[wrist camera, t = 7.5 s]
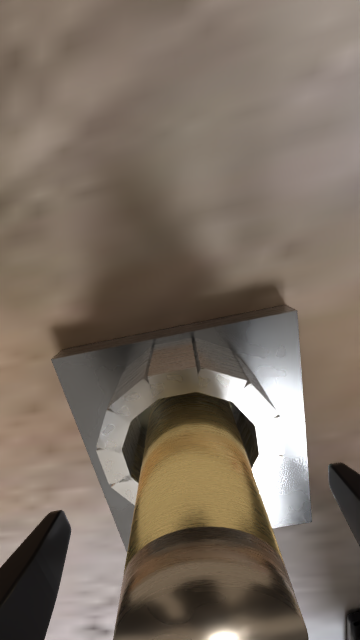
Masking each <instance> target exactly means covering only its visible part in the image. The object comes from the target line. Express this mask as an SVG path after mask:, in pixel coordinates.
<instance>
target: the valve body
mask: <svg viewBox="0 0 360 640" xmlns="http://www.w3.org/2000/svg"><path fill="white" fill-rule="evenodd" d="M113 640H308V633H307V629H306V626H305V623H304V620H303V617H302V614H301V611H300V608H299V605H298V602H297V600H296V597H295V594H294V591H293V588H292V585H291V582H290V579H289V576H288V573H287V570H286V567H285V565H284V562H283V559H282V556H281V553H280V550H279V547H278V544H277V541H276V538H275V535H274V532H273V530H272V527H271V524H270V521H269V518H268V515H267V512H266V509H265V506H264V503H263V500H262V497H261V495H260V492H259V489H258V486H257V483H256V480H255V477H254V474H253V471H252V468H251V465H250V463H249V460H248V457H247V454H246V451H245V448H244V445H243V442H242V439H241V436H240V433H239V430H238V428H237V425H236V422H235V419H234V416H233V413H232V410H231V407H230V404H229V401H227V400H224V399H220V398H217V397H213V396H210V395H206V394H203V393H199V392H192V393H187V394H182V395H176V396H171V397H166V398H160V399H158V400H156V401H155V402H154V403H153V404H151V410H150V416H149V422H148V429H147V435H146V441H145V447H144V453H143V459H142V465H141V472H140V478H139V484H138V490H137V496H136V502H135V508H134V515H133V521H132V527H131V533H130V539H129V545H128V551H127V557H126V564H125V570H124V576H123V582H122V588H121V594H120V600H119V607H118V613H117V619H116V625H115V631H114V637H113Z"/></svg>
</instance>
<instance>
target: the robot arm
mask: <svg viewBox="0 0 360 640" xmlns="http://www.w3.org/2000/svg"><path fill="white" fill-rule="evenodd" d="M328 476H329V486H330V489H331V491H332V493H333V495H334V497H335V499H336V501H337V503H338V505H339V507H340V509H341V511H342V513H343V515H344V517H345V519H346V521H347V523H348V525H349V527H350V529H351V530H352V532H353V534H354V536H355V538H356V540H357V542H358V544H359V546H360V474H358V473H357V472H355V471H354V470H352V469H351V468H349V467H348V466H346V465H345V464H343V463H334V464H329V466H328ZM70 535H71V527H70V524H69V522H68V520H67V517H66V515H65V513H64V511H62V510H58V511H53V512H50V513H49V514H48V515H47V516H46V517H45V518H44V519H43V520H42V521H41V522H40V524H39V525H38V526H37V527H36V528H35V529H34V530H33V531H32V533H31V534H30V535H29V536H28V537H27V538H26V539H25V540H24V542H23V543H22V544H21V545H20V546H19V547H18V548H17V550H16V551H15V552H14V553H13V554H12V555H11V556H10V557H9V559H8V560H7V561H6V562H5V563H4V564H3V565H2V566H1V568H0V640H44V639H45V636H46V632H47V629H48V626H49V622H50V619H51V615H52V612H53V609H54V605H55V602H56V598H57V594H58V590H59V586H60V581H61V577H62V572H63V567H64V563H65V558H66V554H67V549H68V545H69V540H70ZM347 640H360V612H356V613H351V614H349V615H348V616H347Z"/></svg>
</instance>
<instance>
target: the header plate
mask: <svg viewBox="0 0 360 640" xmlns="http://www.w3.org/2000/svg"><path fill="white" fill-rule="evenodd" d="M51 360H52V363H53V365H54V368H55V370H56V373H57V376H58V378H59V381H60V383H61V386H62V388H63V391H64V393H65V396H66V398H67V401H68V404H69V406H70V409H71V411H72V414H73V416H74V419H75V421H76V424H77V426H78V429H79V432H80V434H81V437H82V439H83V442H84V444H85V447H86V449H87V452H88V454H89V457H90V460H91V462H92V465H93V467H94V470H95V472H96V475H97V477H98V480H99V482H100V485H101V488H102V490H103V493H104V495H105V498H106V500H107V503H108V505H109V508H110V510H111V513H112V515H113V518H114V521H115V523H116V526H117V528H118V531H119V533H120V536H121V538H122V541H123V543H124V546H125V549H126V551H128V545H129V539H130V533H131V527H132V521H133V515H134V508H135V502H136V496H137V490H138V484H139V478H140V472H141V465H142V459H143V453H144V447H145V441H146V435H147V429H148V422H149V416H150V410H151V404H153V403H154V402H155V401H156V400H158V399H160V398H166V397H171V396H176V395H182V394H187V393H192V392H199V393H203V394H206V395H210V396H213V397H217V398H220V399H224V400H227V401H229V404H230V407H231V410H232V413H233V416H234V419H235V422H236V425H237V428H238V430H239V433H240V436H241V439H242V442H243V445H244V448H245V451H246V454H247V457H248V460H249V463H250V465H251V468H252V471H253V474H254V477H255V480H256V483H257V486H258V489H259V492H260V495H261V497H262V500H263V503H264V506H265V509H266V512H267V515H268V518H269V521H270V524H271V527H272V528H278V527H284V526H290V525H296V524H302V523H309V522H312V516H311V502H310V487H309V473H308V458H307V444H306V430H305V415H304V401H303V387H302V372H301V358H300V344H299V329H298V315H297V310H295V309H293V308H291V307H289V306H287V305H282V306H277V307H272V308H267V309H262V310H257V311H252V312H248V313H243V314H238V315H233V316H228V317H223V318H218V319H213V320H208V321H203V322H198V323H193V324H188V325H183V326H178V327H173V328H168V329H163V330H158V331H153V332H148V333H143V334H138V335H133V336H128V337H123V338H118V339H113V340H108V341H103V342H98V343H93V344H88V345H83V346H78V347H73V348H68V349H64V350H62V351H60V352H59V353H58V354H57V355H56V356H55V357H54V358H52V359H51Z"/></svg>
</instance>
